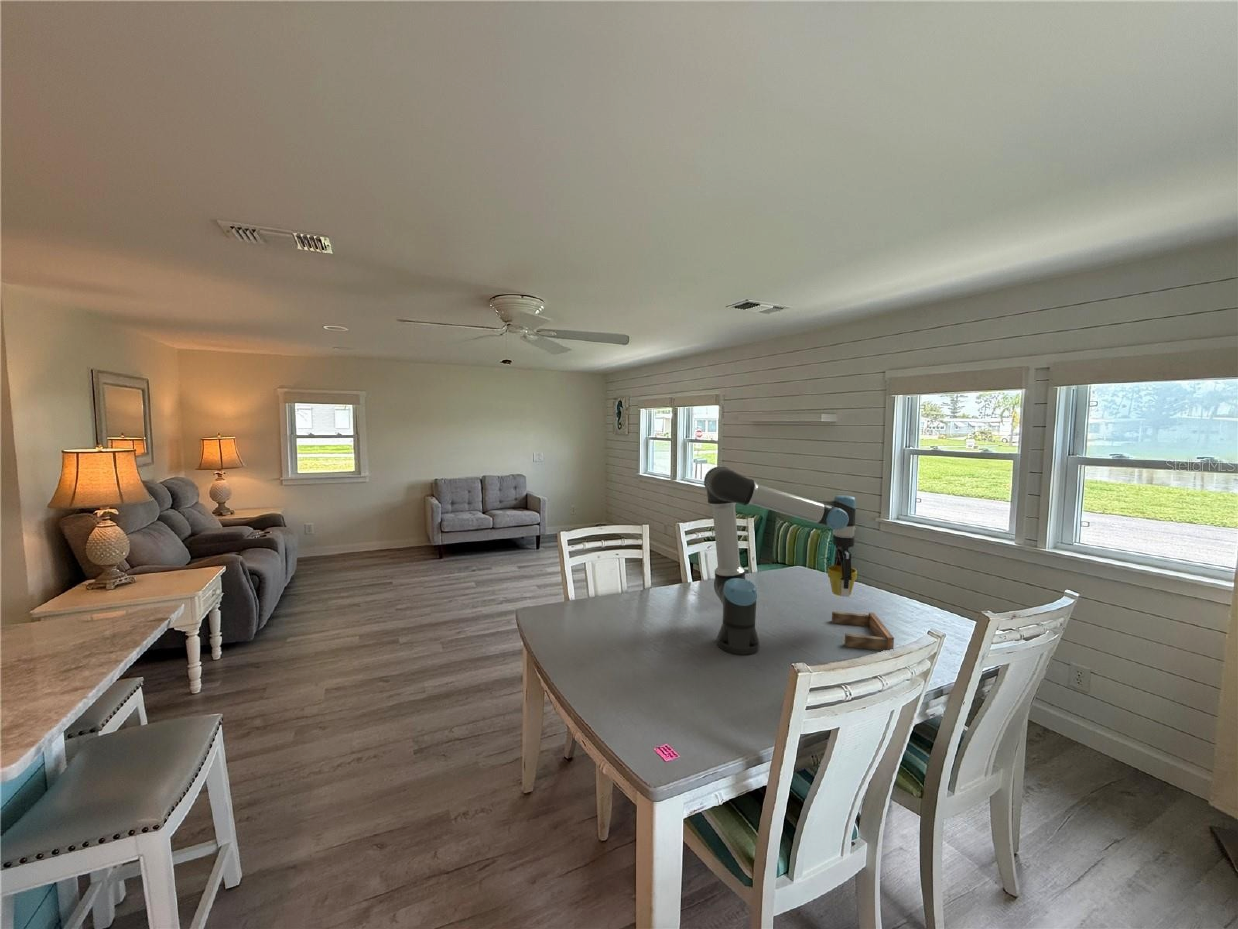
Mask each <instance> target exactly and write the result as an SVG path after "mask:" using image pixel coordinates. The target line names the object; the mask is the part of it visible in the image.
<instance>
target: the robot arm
mask: <svg viewBox="0 0 1238 929" xmlns="http://www.w3.org/2000/svg"><path fill="white" fill-rule="evenodd" d="M703 485H704V488H705V490H706V496H707V504H708V505H709V506H711V508H712V517H713V527H714V528H713V529H714V530H713V531H714V537H715V538H714V540H715V548H716V549H715V550H716V551H715V552H716V560H717V566H716V568H715V569H714V581H713V588H714V592H715V594H716V596H717V597H718V598H719V601H720V602H721V604H722V624H721V626H720V629H719V631H718V634H717V637H716V644H717V647H718V648H719V649H721V650H722V651H724V652H727V653H730V654H732V655H733V654H734V655H740V656H741V655H743V656H746V655H747V656H748V655H753V654H756V653H757V652H759V650H760V639H759V635H758V632H757V628H756V619H757V617H756V614H757V598H758V592H757V591H758V590H757V586H756V585H755V583H753V582H752V581H750V580H747V579H746V570H745V568H744V567H743V566H742V565H741V559H740V548H739V547H740V545H739V537H738V536H739V535H738V527H737V516H736V515H737V514H736V505H737V504H739V505H742V506H749V505H753V506H756V507H760V508H763V509H767V510H770V511H774V512H777V513H780V514H784V515H788V516H791V517H795V518H798V519H800V520H805V521H808V522H811V523H815V524H818V525H822V526H825V527H828V528H829V529H832V534H833V536H832V545H834V546H835V550H834V559H833V560H834V561H833V566H834V565H836V566H841V567H842V578H841V580H842V582H841V596H840V597H847V598H849V597H850V595H849V586H850V580H852V576H851V568H852V553H851V552H850V551H849V548H853V547H854V546H855V537H854V536H855V531H856V530H857V528H856V527H855V526H856V510H857V504H856V503H857V502H856V498H855V496H851V495H847V494H845V495H843V494H838V495H835V496H834V498H833V500H829V501H828V500H812V499H809V498H807V497H806V498H805V497H802V496H799V495H795V494H792V493H789V492H786V491H783V490H779V489H775V488H773V487H772V488H771V487H769V486H765V485H761V484H759V483H757V482H756V481H755V480H754V479H751V478H748V477H745V476H744V475H741V474H739V473H737V472H736V471H734V470H732V469H730V468H728V467H726V466H714V467H711V469H709V470H708V471H707V472H706V474H705V476H704V480H703ZM846 576H848V577H846Z"/></svg>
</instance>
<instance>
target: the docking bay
mask: <svg viewBox="0 0 1238 929" xmlns="http://www.w3.org/2000/svg"><path fill="white" fill-rule="evenodd" d="M831 622H832V624H842V625H854V626H863V627H864V626H865V627H870V630H872V632H873V633H874V634H875V635H876V636H875V635H874V636H872V635H860V634H851V633H844V646H845V647H849V648H856V649H857V648H858V649H860V648H861V649H866V650H867V649H869V650H878V649H880V650H879V651H886V650H890V649H893V650H894V644H895V643H894V642H895V637H894V636H893V634H891V632H890V631H889V630H888V629H887V628H888V627H886V626H885V625H884V623H883V622H882V621H881V619H879V617H878V616H877V614H875V612H868V614H863V613H862V614H861V613H853V612H851V613H850V612H844V611H843V612H842V611H841V612H840V611H832V612H831Z"/></svg>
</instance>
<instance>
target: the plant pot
mask: <svg viewBox="0 0 1238 929" xmlns="http://www.w3.org/2000/svg"><path fill="white" fill-rule="evenodd" d="M851 576H852V580H850V586H849V596H851V594H852V592H853V588H854V584H855V581H857V578H858V577H857V576H858V570H857V569H856V568H854V567H851ZM827 577H828V578H829V582H830V587H831V588H830V589H831V593H832V594H833V595H836V596H840V597H842V596H841V582H842V580H841V578H842V567H841V566H836V565H834V564H833V565H830V566H828V567H827ZM846 577H848V576H846Z"/></svg>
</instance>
